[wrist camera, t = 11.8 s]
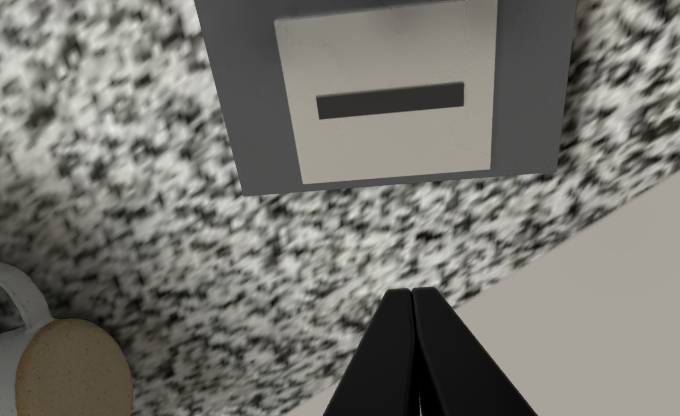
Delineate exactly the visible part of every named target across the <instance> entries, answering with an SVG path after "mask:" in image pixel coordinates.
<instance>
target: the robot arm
mask: <svg viewBox="0 0 680 416" xmlns="http://www.w3.org/2000/svg"><path fill="white" fill-rule="evenodd" d="M419 397H420V400H419ZM420 407H421V415H422V416H538V415H537V414H536V413H535V412H534V410H533V409H532V408H531V406H530V405H529V404H528V403H527V401H526V400H525V399H524V398H523V396H522V395H521V394H520V393H519V391H518V390H517V389H516V388H515V387H514V385H513V384H512V383H511V381H510V380H509V379H508V378H507V376H506V375H505V374H504V373H503V371H502V370H501V369H500V368H499V366H498V365H497V364H496V363H495V361H494V360H493V359H492V358H491V356H490V355H489V354H488V353H487V351H486V350H485V349H484V348H483V346H482V345H481V344H480V343H479V341H478V340H477V339H476V338H475V336H474V335H473V334H472V333H471V331H470V330H469V329H468V328H467V326H466V325H465V324H464V323H463V321H462V320H461V319H460V318H459V316H458V315H457V314H456V313H455V311H454V310H453V309H452V307H451V306H450V305H449V304H448V302H447V301H446V300H445V299H444V297H443V296H442V295H441V294H440V292H439V291H438V290H437V289H436V288H434V287H419V288H413V289H412V291H410V289H408V288H402V289H389V290H387V291H386V293H385V294H384V296H383V298H382V300H381V302H380V304H379V306H378V308H377V310H376V312H375V314H374V316H373V318H372V320H371V322H370V324H369V326H368V328H367V330H366V332H365V334H364V336H363V337H362V339H361V341H360V343H359V345H358V347H357V349H356V351H355V353H354V355H353V357H352V359H351V361H350V363H349V365H348V367H347V369H346V371H345V373H344V375H343V377H342V379H341V381H340V383H339V385H338V387H337V389H336V391H335V393H334V395H333V396H332V398H331V400H330V403H329V404H328V406H327V408H326V410H325V412H324V414H323V416H420Z"/></svg>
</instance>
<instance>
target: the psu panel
mask: <svg viewBox="0 0 680 416" xmlns="http://www.w3.org/2000/svg"><path fill="white" fill-rule="evenodd" d="M194 2H195V6H196V10H197V14H198V18H199V22H200V26H201V30H202V34H203V38H204V42H205V46H206V50H207V53H208V57H209V61H210V65H211V69H212V73H213V77H214V81H215V85H216V89H217V93H218V97H219V101H220V105H221V109H222V113H223V117H224V121H225V125H226V129H227V132H228V136H229V140H230V144H231V148H232V152H233V156H234V160H235V164H236V168H237V172H238V176H239V180H240V184H241V188H242V192H243V196H254V195H267V194H280V193H293V192H305V191H318V190H331V189H344V188H356V187H369V186H382V185H395V184H407V183H420V182H433V181H446V180H458V179H471V178H484V177H497V176H509V175H522V174H535V173H548V172H556V171H557V163H558V155H559V147H560V138H561V130H562V122H563V114H564V105H565V97H566V89H567V81H568V73H569V64H570V56H571V48H572V40H573V31H574V23H575V15H576V7H577V0H194Z"/></svg>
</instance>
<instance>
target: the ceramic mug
mask: <svg viewBox="0 0 680 416" xmlns="http://www.w3.org/2000/svg"><path fill="white" fill-rule="evenodd" d="M0 286H1V287H2V288H3V289H4V290H5V291H6V292H7V293H8V294H9V295H10V297H11V298H12V300H13V303H14V304H15V305H16V307H17V308H18V310H19V312H20V315H21V318H22V320H23V321H24V323H25V326H23V327H20V328H17V329H15V330H11V331H8V332H4V333H1V334H0V416H130V414H131V410H132V400H133V385H132V377H131V373H130V369H129V365H128V362H127V360H126V357H125V355H124V354H123V352H122V350H121V348H120V347H119V345H118V343H117V342H116V341H115V340H114V339H113V338H112V337H111V336H110V334H109V333H108V332H106V331H105V330H103V329H102V328H100V327H99V326H97V325H96V324H94V323H92V322H89V321H86V320H82V319H77V318H70V319H55V318H53V317H51V313H50V311H49V307H48V304H47V302H46V299H45V297H44V295H43V294H42V292H41V291H40V290H39V289H38V288H37V286H36V285H35V284H34V282H33V281H32V279H31V278H30V277H29V276H28V275H26V274H25V273H24V272H22V271H21V270H19V269H17V268H16V267H14V266H12V265H9V264H6V263H2V262H0Z"/></svg>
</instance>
